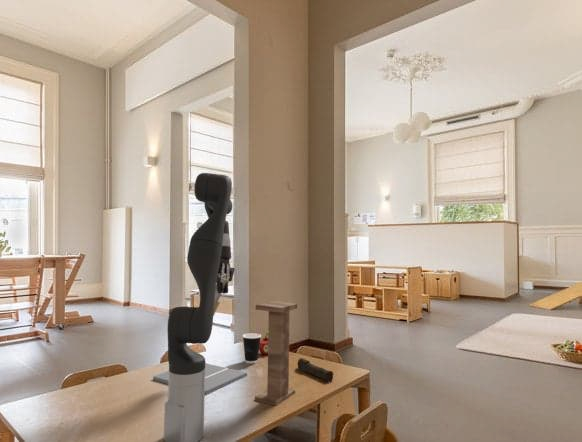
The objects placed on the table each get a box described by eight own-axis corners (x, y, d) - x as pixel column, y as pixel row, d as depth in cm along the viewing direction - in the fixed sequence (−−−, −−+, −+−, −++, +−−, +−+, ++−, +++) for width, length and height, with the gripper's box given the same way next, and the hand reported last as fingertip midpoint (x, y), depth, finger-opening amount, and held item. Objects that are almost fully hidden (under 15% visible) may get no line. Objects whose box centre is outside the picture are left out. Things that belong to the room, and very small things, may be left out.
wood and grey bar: (196, 322, 145) (201, 326, 144) (217, 275, 145) (223, 279, 143) (203, 322, 149) (208, 326, 147) (224, 276, 148) (230, 280, 147)
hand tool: (334, 381, 145) (334, 368, 146) (325, 383, 143) (325, 370, 143) (303, 367, 161) (303, 356, 161) (295, 369, 159) (295, 357, 159)
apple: (270, 356, 175) (270, 333, 175) (255, 355, 176) (255, 333, 176) (273, 352, 182) (274, 330, 183) (259, 351, 183) (259, 329, 184)
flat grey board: (206, 394, 130) (206, 390, 130) (153, 379, 144) (153, 376, 144) (246, 375, 149) (246, 372, 149) (196, 364, 163) (196, 360, 163)
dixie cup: (259, 358, 172) (259, 332, 172) (262, 364, 164) (262, 337, 164) (241, 359, 170) (241, 333, 170) (242, 365, 162) (243, 338, 163)
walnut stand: (278, 406, 122) (279, 308, 124) (252, 399, 127) (253, 305, 129) (297, 393, 132) (298, 303, 134) (272, 387, 137) (274, 300, 139)
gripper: (216, 242, 142) (219, 291, 137) (239, 247, 154) (242, 292, 149) (200, 246, 145) (202, 294, 140) (223, 251, 157) (226, 295, 152)
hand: (222, 293), depth 145 cm, fingers closed on wood and grey bar, 2 cm apart
